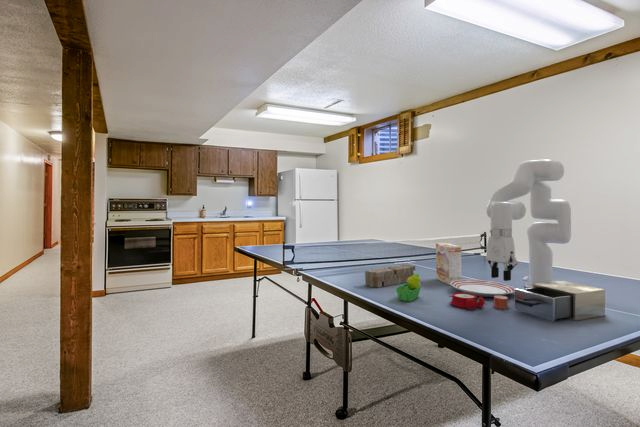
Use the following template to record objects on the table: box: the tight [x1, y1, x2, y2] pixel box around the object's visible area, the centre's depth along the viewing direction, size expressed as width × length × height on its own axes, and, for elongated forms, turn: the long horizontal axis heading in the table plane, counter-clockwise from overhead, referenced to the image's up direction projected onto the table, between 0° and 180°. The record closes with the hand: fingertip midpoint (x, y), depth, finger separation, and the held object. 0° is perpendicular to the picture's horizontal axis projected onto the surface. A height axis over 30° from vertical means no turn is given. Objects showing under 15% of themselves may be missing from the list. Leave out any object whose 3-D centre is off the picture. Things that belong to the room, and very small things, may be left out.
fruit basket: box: [395, 273, 422, 302], centre depth 157 cm, size 11×9×11 cm
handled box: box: [514, 287, 573, 322], centre depth 132 cm, size 19×15×8 cm
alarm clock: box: [449, 291, 488, 311], centre depth 146 cm, size 10×6×15 cm
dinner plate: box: [450, 279, 516, 298], centre depth 167 cm, size 27×27×3 cm
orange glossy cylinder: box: [493, 295, 509, 310], centre depth 144 cm, size 5×5×4 cm
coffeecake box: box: [435, 242, 462, 286], centre depth 190 cm, size 15×7×20 cm, turn 6°
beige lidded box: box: [533, 280, 606, 322], centre depth 137 cm, size 16×17×10 cm
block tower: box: [364, 263, 416, 289], centre depth 188 cm, size 8×8×29 cm
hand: (500, 278), depth 143 cm, fingers open, 5 cm apart
